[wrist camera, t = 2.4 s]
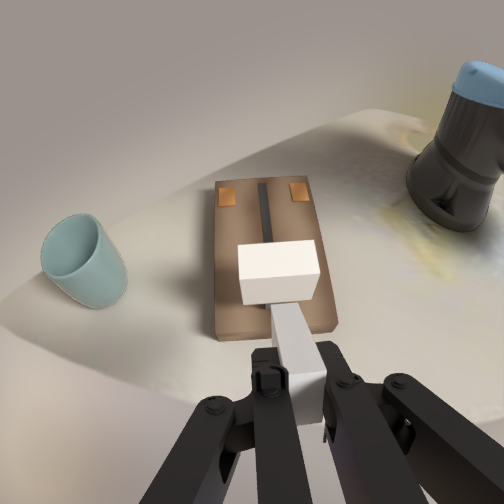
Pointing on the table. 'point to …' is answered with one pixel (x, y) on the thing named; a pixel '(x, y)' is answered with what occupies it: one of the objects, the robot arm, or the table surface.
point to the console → (264, 231)
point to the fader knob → (278, 272)
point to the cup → (84, 262)
